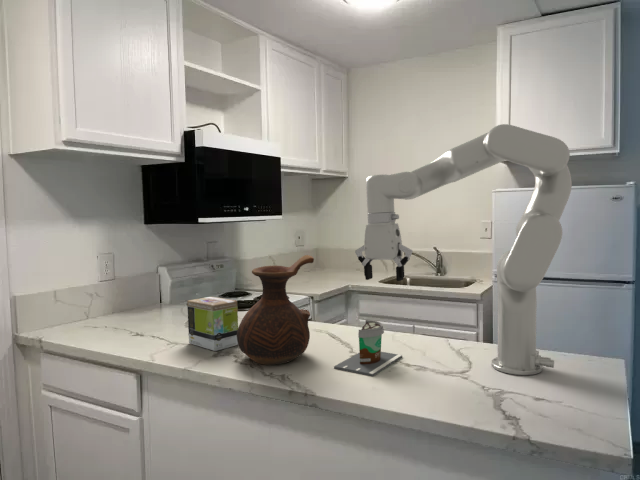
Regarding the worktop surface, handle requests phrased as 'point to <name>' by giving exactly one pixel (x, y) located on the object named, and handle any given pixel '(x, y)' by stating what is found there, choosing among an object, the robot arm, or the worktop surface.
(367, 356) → the food container
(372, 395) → the worktop surface
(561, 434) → the worktop surface
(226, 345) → the tea box
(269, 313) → the jug
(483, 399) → the worktop surface
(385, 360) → the mat
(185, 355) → the worktop surface
